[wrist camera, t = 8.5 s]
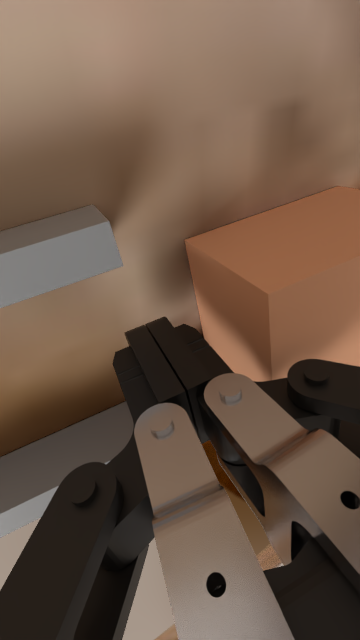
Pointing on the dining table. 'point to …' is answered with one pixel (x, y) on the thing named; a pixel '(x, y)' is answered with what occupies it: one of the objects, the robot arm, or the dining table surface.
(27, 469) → the channel
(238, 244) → the block
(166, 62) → the dining table surface
